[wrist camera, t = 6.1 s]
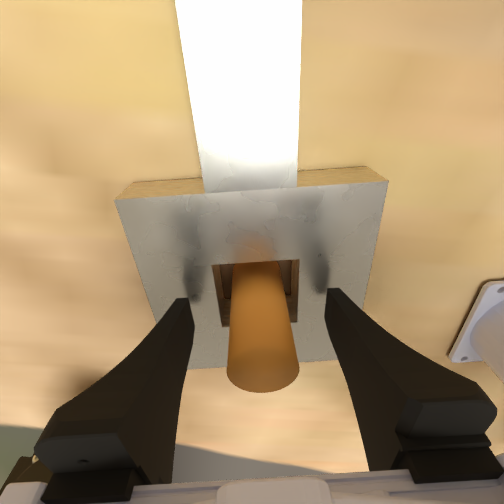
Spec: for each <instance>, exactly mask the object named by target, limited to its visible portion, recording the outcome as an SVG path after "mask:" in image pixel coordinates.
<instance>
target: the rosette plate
mask: <svg viewBox="0 0 504 504" xmlns="http://www.w3.org/2000/svg"><path fill="white" fill-rule="evenodd" d="M175 5H176V11H177V18H178V24H179V30H180V37H181V43H182V50H183V56H184V62H185V69H186V75H187V81H188V88H189V94H190V100H191V107H192V113H193V120H194V126H195V132H196V139H197V145H198V151H199V158H200V164H201V171H202V177H203V178H191V179H177V180H162V181H148V182H134V183H132V184H131V185H130V186H129V187H128V188H127V189H126V190H124V191H123V192H122V193H121V194H120V195H119V196H118V197H116V198H115V199H114V202H115V205H116V207H117V210H118V213H119V216H120V219H121V222H122V225H123V228H124V231H125V234H126V236H127V239H128V242H129V245H130V248H131V251H132V254H133V257H134V260H135V263H136V265H137V268H138V271H139V274H140V277H141V280H142V283H143V286H144V289H145V292H146V294H147V297H148V300H149V303H150V306H151V309H152V312H153V315H154V318H155V321H156V323H158V322H159V320H160V319H161V318H162V317H163V315H164V314H165V313H166V311H167V310H168V309H169V307H170V306H171V305H172V303H173V302H174V301H175V299H176V298H187V297H188V298H189V303H190V307H191V311H192V315H193V319H194V323H195V331H194V340H193V346H192V350H191V355H190V359H189V363H188V367H187V369H203V368H218V367H227V359H228V343H229V326H230V310H231V299H224V294H223V287H222V280H221V274H220V267H219V264H233V263H248V262H263V261H278V260H292V267H291V295H285V298H286V303H287V308H288V313H289V318H290V323H291V328H292V333H293V338H294V343H295V348H296V353H297V358H298V362H312V361H328V360H338V358H337V355H336V353H335V350H334V348H333V345H332V343H331V340H330V337H329V335H328V331H327V327H326V323H325V319H324V313H325V304H326V294H327V288H340V289H341V290H342V291H343V292H344V293H345V294H346V295H347V296H348V297H349V298H350V299H351V300H352V301H353V302H354V303H355V304H356V305H357V306H358V307H359V308H360V309H361V310H362V308H363V304H364V299H365V294H366V289H367V284H368V279H369V275H370V270H371V265H372V260H373V255H374V250H375V246H376V241H377V236H378V231H379V226H380V221H381V217H382V212H383V207H384V202H385V197H386V192H387V188H388V183H389V181H388V180H387V179H385V178H384V177H382V176H380V175H379V174H377V173H376V172H374V171H373V170H371V169H370V168H368V167H366V166H365V167H351V168H336V169H322V170H307V171H297V160H298V123H299V86H300V49H301V11H302V0H175Z"/></svg>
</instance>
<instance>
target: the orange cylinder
mask: <svg viewBox="0 0 504 504" xmlns="http://www.w3.org/2000/svg"><path fill="white" fill-rule="evenodd" d="M298 373H299V363H298V358H297V353H296V348H295V343H294V338H293V333H292V328H291V323H290V318H289V313H288V308H287V303H286V298H285V293H284V288H283V283H282V278H281V273H280V268H279V265H278V263H277V262H276V261H263V262H248V263H236V264H235V265H234V268H233V277H232V294H231V310H230V326H229V343H228V359H227V376H228V378H229V380H230V381H231V382H232V383H233V384H234V385H235V386H237V387H238V388H241V389H243V390H246V391H249V392H256V393H266V392H273V391H277V390H280V389H282V388H284V387H286V386H288V385H289V384H291V383H292V382H293V381H294V380H295V379H296V377H297V376H298Z"/></svg>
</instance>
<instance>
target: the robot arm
mask: <svg viewBox="0 0 504 504" xmlns="http://www.w3.org/2000/svg"><path fill="white" fill-rule="evenodd" d="M324 319H325V323H326V327H327V331H328V335H329V337H330V340H331V343H332V345H333V348H334V350H335V353H336V355H337V358H338V360H339V363H340V366H341V368H342V371H343V373H344V376H345V379H346V382H347V385H348V388H349V392H350V395H351V399H352V402H353V406H354V410H355V413H356V417H357V421H358V425H359V429H360V433H361V437H362V441H363V445H364V449H365V453H366V458H367V462H368V466H369V471H370V472H353V473H337V474H321V475H305V476H289V477H272V478H255V479H239V480H223V481H206V482H192V483H191V482H190V483H173V484H171V482H172V471H173V460H174V450H175V441H176V432H177V424H178V415H179V408H180V401H181V394H182V389H183V384H184V380H185V376H186V371H187V367H188V363H189V359H190V355H191V350H192V346H193V340H194V331H195V323H194V319H193V315H192V311H191V307H190V303H189V298H188V297H187V298H176V299H175V301H174V302H173V303H172V305H171V306H170V307H169V309H168V310H167V311H166V313H165V314H164V315H163V317H162V318H161V319H160V320H159V322H158V323H157V324H156V325H155V327H154V328H153V329H152V330H151V331H150V333H149V334H148V335H147V336H146V337H145V338H144V339H143V341H142V342H141V343H140V344H139V345H138V346H137V347H136V348H135V349H134V350H133V351H132V352H131V353H130V354H129V355H128V356H127V357H126V358H125V359H124V360H123V361H122V362H120V363H119V364H118V365H117V366H116V367H115V368H113V369H112V370H111V371H110V372H109V373H107V374H106V375H105V376H104V377H102V378H101V379H100V380H99V381H97V382H96V383H95V384H93V385H92V386H91V387H89V388H88V389H86V390H85V391H84V392H82V393H81V394H79V395H78V396H76V397H75V398H73V399H72V400H70V401H69V402H67V403H66V404H64V405H62V406H61V407H59V408H58V409H56V411H55V412H54V414H53V415H52V417H51V418H50V420H49V422H48V424H47V425H46V427H45V429H44V431H43V433H42V434H41V436H40V438H39V440H38V441H37V443H36V445H35V447H34V453H35V455H36V457H37V458H38V459H39V460H40V461H41V462H42V463H43V464H44V465H45V466H46V467H47V468H48V469H49V470H50V471H51V472H52V473H53V475H52V477H51V479H50V481H49V483H48V484H47V483H44V482H22V483H10V484H8V485H7V486H6V488H5V489H4V491H3V493H2V494H1V496H0V504H504V453H502V454H499V455H497V456H494V454H493V453H492V451H491V450H490V448H489V447H490V446H491V442H490V440H489V439H488V437H487V436H486V434H485V431H486V430H487V429H488V428H489V426H490V425H491V424H492V422H493V421H494V420H495V418H496V416H497V408H496V406H495V405H494V404H493V402H492V401H491V400H490V399H489V397H488V396H487V395H486V393H485V392H484V391H483V390H482V389H481V387H480V386H479V385H478V384H477V383H476V382H474V381H472V380H470V379H468V378H466V377H463V376H461V375H459V374H457V373H455V372H453V371H451V370H449V369H447V368H445V367H443V366H441V365H439V364H437V363H435V362H434V361H432V360H430V359H428V358H426V357H425V356H423V355H421V354H420V353H418V352H416V351H415V350H413V349H412V348H410V347H408V346H407V345H405V344H404V343H402V342H401V341H399V340H398V339H397V338H395V337H394V336H392V335H391V334H390V333H388V332H387V331H386V330H384V329H383V328H382V327H381V326H380V325H378V324H377V323H376V322H375V321H374V320H372V319H371V318H370V317H369V316H368V315H367V314H366V313H365V312H364V311H362V310H361V309H360V308H359V307H358V306H357V305H356V304H355V303H354V302H353V301H352V300H351V299H350V298H349V297H348V296H347V295H346V294H345V293H344V292H343V291H342V290H341V289H340V288H327V294H326V304H325V313H324ZM449 359H450V360H451V362H454V363H459V362H475V361H484V362H485V363H486V364H487V365H488V366H489V367H490V369H491V370H492V371H493V372H494V373H495V374H496V375H497V377H498V378H499V379H500V380H501V381H502V382H503V383H504V280H502V281H491V282H488V283H486V284H485V285H484V286H483V287H482V289H481V291H480V293H479V295H478V297H477V299H476V301H475V303H474V305H473V307H472V309H471V311H470V313H469V315H468V318H467V320H466V322H465V324H464V326H463V328H462V330H461V332H460V334H459V336H458V338H457V340H456V342H455V344H454V346H453V348H452V350H451V352H450V354H449Z"/></svg>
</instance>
